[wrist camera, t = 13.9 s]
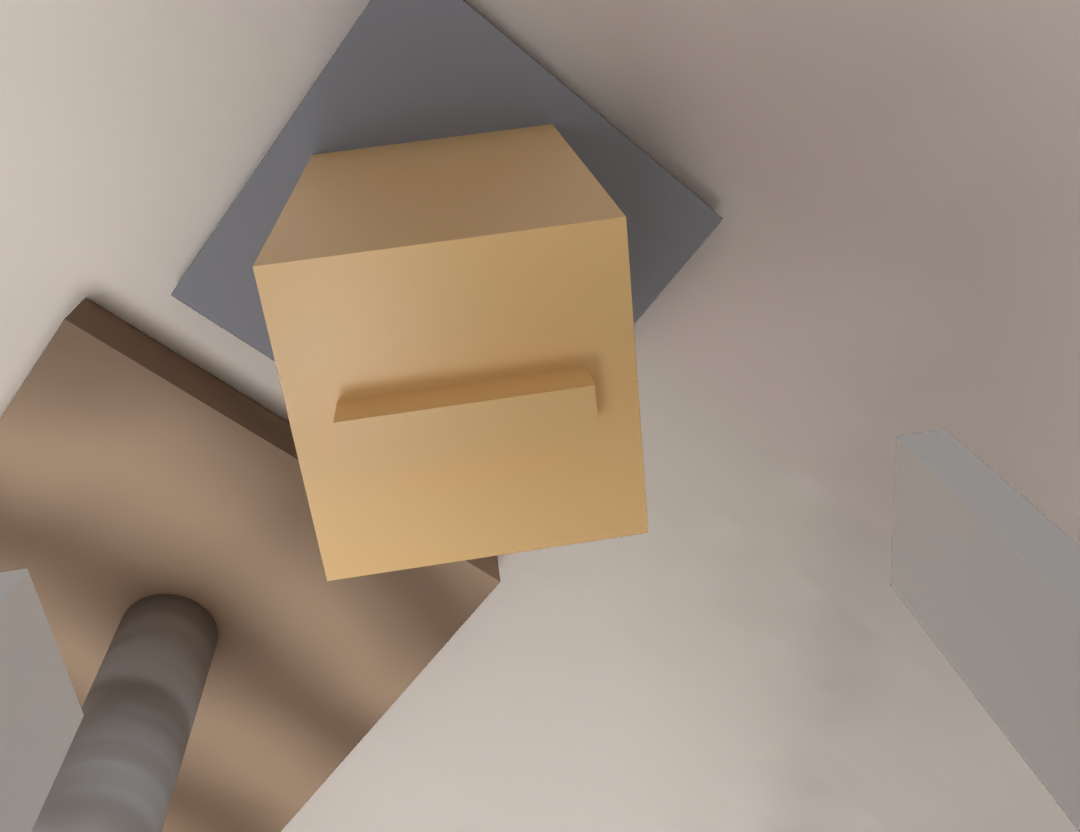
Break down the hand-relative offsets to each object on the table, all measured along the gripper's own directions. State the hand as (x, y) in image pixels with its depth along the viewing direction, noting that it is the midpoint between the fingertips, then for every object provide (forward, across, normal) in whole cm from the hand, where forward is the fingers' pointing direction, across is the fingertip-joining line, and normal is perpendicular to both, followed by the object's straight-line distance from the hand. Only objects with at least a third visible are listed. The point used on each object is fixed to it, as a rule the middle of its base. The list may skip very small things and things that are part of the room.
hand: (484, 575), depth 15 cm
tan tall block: (+17, 0, 0) cm, 17 cm away
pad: (+18, 0, 0) cm, 18 cm away
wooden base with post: (+18, +11, +11) cm, 24 cm away
